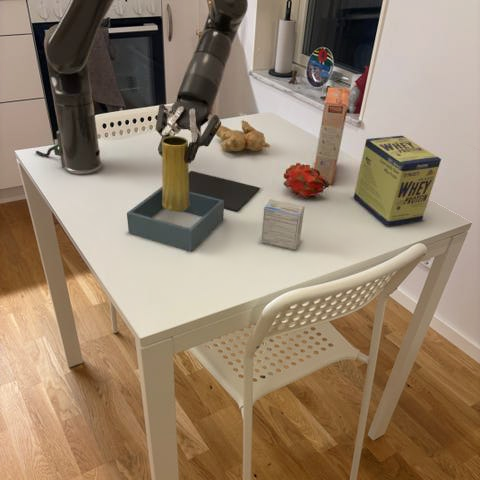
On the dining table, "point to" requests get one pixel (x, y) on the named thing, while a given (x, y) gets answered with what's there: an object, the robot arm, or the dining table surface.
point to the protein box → (395, 179)
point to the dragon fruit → (304, 180)
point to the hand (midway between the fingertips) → (174, 158)
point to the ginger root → (241, 138)
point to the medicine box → (282, 224)
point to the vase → (175, 174)
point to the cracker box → (331, 132)
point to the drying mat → (221, 189)
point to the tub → (171, 233)
